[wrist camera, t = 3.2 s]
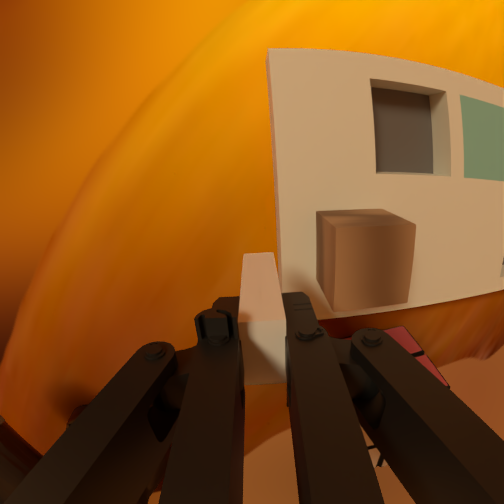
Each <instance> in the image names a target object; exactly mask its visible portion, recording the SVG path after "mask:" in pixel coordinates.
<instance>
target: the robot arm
mask: <svg viewBox="0 0 504 504" xmlns="http://www.w3.org/2000/svg"><path fill="white" fill-rule="evenodd" d="M194 320H195V326H196V331H197V336H198V343H197V345H196V346H194V347H192V348H188V349H185V350H180V351H175V349H174V347H173V346H172V345H171V344H170V343H167V342H158V341H157V342H151V343H148V344H146V345H144V346H142V347H141V348H140V349H138V350H137V352H136V353H135V354H134V355H133V356H132V357H131V358H130V359H129V360H128V361H127V363H126V364H125V365H124V366H123V367H122V368H121V369H120V370H119V371H118V372H117V374H116V375H115V376H114V377H113V378H112V379H111V380H110V381H109V382H108V384H107V385H106V386H105V387H104V388H103V389H102V390H101V391H100V392H99V394H98V395H97V396H96V397H95V398H94V399H93V400H92V401H91V403H90V404H89V405H82V406H79V407H77V408H76V409H75V410H74V411H73V413H72V415H71V417H70V418H69V420H68V423H67V427H66V431H65V432H64V433H63V434H62V435H61V437H60V438H59V439H58V440H57V441H56V442H55V443H54V445H53V446H52V447H51V448H50V449H49V450H48V452H47V453H46V454H45V455H44V456H43V455H41V454H40V453H39V452H38V451H37V450H36V449H34V448H33V447H32V446H31V445H30V444H29V443H28V442H26V441H25V440H24V439H23V438H22V437H21V436H20V435H19V434H18V433H17V432H16V431H15V430H14V429H13V428H12V427H10V426H9V425H8V424H7V423H6V422H5V419H4V418H3V417H2V416H1V415H0V504H148V499H149V497H150V495H151V494H152V493H153V491H154V490H155V489H156V487H157V486H158V484H159V483H160V482H161V480H162V479H163V478H164V481H163V486H162V490H161V495H160V499H159V504H243V463H244V462H243V461H244V422H245V389H244V383H245V385H258V384H275V383H286V379H287V407H289V414H290V423H291V431H292V439H293V449H294V458H295V467H296V476H297V485H298V495H299V504H384V500H383V497H382V493H381V490H380V487H379V483H378V480H377V476H376V473H375V470H374V467H373V463H372V460H371V457H370V454H369V451H368V448H367V445H366V441H365V438H364V435H363V432H362V429H361V427H362V428H363V430H364V431H365V432H366V434H367V435H368V437H369V438H370V440H371V441H372V442H373V444H374V445H375V447H376V448H377V449H378V451H379V452H380V454H381V455H382V457H383V458H384V459H385V461H386V462H387V464H388V465H389V466H390V468H391V469H392V471H393V472H394V473H395V475H396V476H397V477H398V479H399V480H400V482H401V483H402V484H403V486H404V488H405V489H406V490H407V492H408V493H409V495H410V496H411V497H412V499H413V500H414V502H415V503H416V504H504V441H503V440H502V439H501V438H500V437H499V436H498V435H497V434H496V433H495V432H494V431H493V430H492V429H491V428H490V427H489V426H488V425H487V424H486V423H485V422H484V421H483V420H482V419H481V418H480V417H478V416H477V415H476V414H475V413H474V412H473V411H472V410H471V409H470V408H469V407H468V406H467V405H466V404H465V403H464V402H463V401H462V400H460V399H459V398H458V397H457V396H456V395H455V394H454V393H453V392H452V391H451V390H450V389H449V388H448V387H446V386H445V385H444V384H443V383H442V382H441V381H440V380H439V379H438V378H437V377H436V376H435V375H433V374H432V373H431V372H430V371H429V370H428V369H427V368H426V367H425V366H424V365H422V364H421V363H420V362H419V361H418V360H417V359H416V358H415V357H414V356H412V355H411V354H410V353H409V352H408V351H407V350H406V349H405V348H404V347H402V346H401V345H400V344H399V343H398V342H397V341H396V340H395V339H393V338H392V337H391V336H390V335H389V334H388V333H386V332H384V331H383V330H380V329H376V328H365V329H360V330H358V331H356V332H355V333H354V334H353V335H352V340H346V339H337V338H333V337H330V336H328V333H327V331H326V330H325V329H324V328H323V327H321V326H319V323H318V320H317V318H316V315H315V312H314V309H313V307H312V304H311V301H310V298H309V296H307V295H306V294H305V293H303V292H288V293H281V290H280V285H279V280H278V274H277V269H276V264H275V259H274V254H273V252H268V253H252V254H244V257H243V268H242V279H241V291H240V296H237V297H219V298H218V299H217V300H216V301H215V302H214V303H213V306H212V308H211V309H207V310H204V311H202V312H200V313H199V314H197V315H196V317H195V318H194ZM360 425H361V426H360ZM172 441H173V442H172ZM171 443H172V446H171V447H170V445H171ZM164 476H165V477H164Z"/></svg>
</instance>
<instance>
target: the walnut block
mask: <svg viewBox="0 0 504 504" xmlns="http://www.w3.org/2000/svg"><path fill="white" fill-rule="evenodd" d="M415 236H416V224H414V223H412V222H410V221H408V220H406V219H404V218H402V217H399V216H397V215H395V214H393V213H391V212H388V211H386V210H384V209H353V210H328V211H316V280H317V282H318V284H319V286H320V288H321V290H322V291H323V293H324V295H325V297H326V299H327V301H328V303H329V305H330V307H331V309H332V311H333V312H342V311H350V310H359V309H367V308H375V307H382V306H389V305H396V304H403V303H407V302H408V296H409V289H410V282H411V274H412V266H413V257H414V247H415Z"/></svg>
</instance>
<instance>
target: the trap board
mask: <svg viewBox="0 0 504 504" xmlns="http://www.w3.org/2000/svg"><path fill="white" fill-rule="evenodd" d="M266 71H267V83H268V96H269V109H270V123H271V138H272V153H273V169H274V186H275V205H276V225H277V247H278V272H279V285H280V290H281V293H288V292H303V293H305V294H306V295H307V296H309V298H310V301H311V304H312V307H313V309H314V312H315V315H316V318H317V320H322V319H331V318H340V317H349V316H357V315H365V314H372V313H379V312H386V311H393V310H400V309H406V308H412V307H419V306H424V305H430V304H436V303H441V302H447V301H452V300H457V299H462V298H467V297H472V296H477V295H481V294H486V293H490V292H495V291H499V290H503V289H504V88H501V87H498V86H496V85H493V84H491V83H488V82H485V81H482V80H479V79H476V78H473V77H470V76H467V75H464V74H461V73H457V72H454V71H450V70H447V69H443V68H439V67H435V66H431V65H427V64H423V63H419V62H414V61H409V60H404V59H399V58H393V57H387V56H381V55H374V54H367V53H358V52H349V51H338V50H324V49H300V48H272V49H268V52H267V57H266ZM353 209H384V210H386V211H388V212H391V213H393V214H395V215H397V216H399V217H402V218H404V219H406V220H408V221H410V222H412V223H414V224H416V236H415V247H414V257H413V266H412V274H411V282H410V289H409V296H408V302H407V303H403V304H396V305H389V306H382V307H375V308H367V309H359V310H350V311H342V312H333V311H332V309H331V307H330V305H329V303H328V301H327V299H326V297H325V295H324V293H323V291H322V290H321V288H320V286H319V284H318V282H317V280H316V211H328V210H353Z"/></svg>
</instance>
